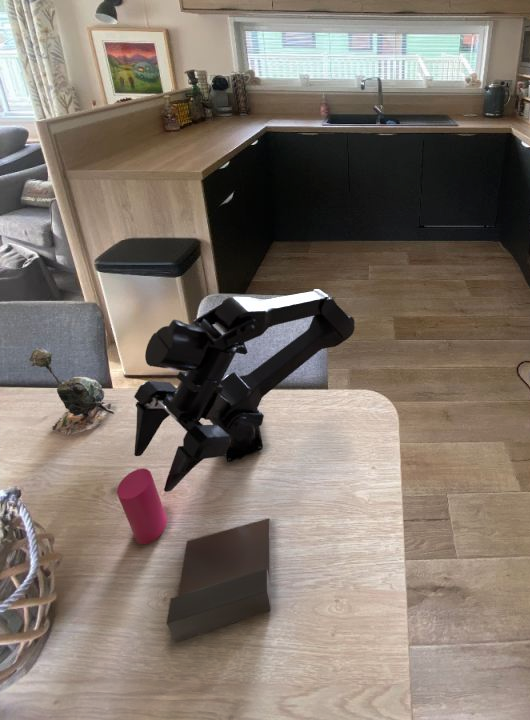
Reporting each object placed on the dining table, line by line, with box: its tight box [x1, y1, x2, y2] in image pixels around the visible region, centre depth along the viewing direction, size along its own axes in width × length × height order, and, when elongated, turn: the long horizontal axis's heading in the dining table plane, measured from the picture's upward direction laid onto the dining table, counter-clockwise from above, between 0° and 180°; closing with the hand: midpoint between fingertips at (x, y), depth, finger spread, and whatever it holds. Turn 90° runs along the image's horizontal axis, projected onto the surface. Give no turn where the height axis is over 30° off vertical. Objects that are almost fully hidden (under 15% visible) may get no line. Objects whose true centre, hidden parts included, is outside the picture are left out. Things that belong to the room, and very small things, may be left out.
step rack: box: [165, 517, 272, 643], centre depth 55 cm, size 10×12×5 cm
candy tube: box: [116, 468, 168, 545], centre depth 59 cm, size 4×4×11 cm
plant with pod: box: [28, 347, 116, 436], centre depth 75 cm, size 8×11×20 cm
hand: (151, 472), depth 60 cm, fingers open, 9 cm apart
